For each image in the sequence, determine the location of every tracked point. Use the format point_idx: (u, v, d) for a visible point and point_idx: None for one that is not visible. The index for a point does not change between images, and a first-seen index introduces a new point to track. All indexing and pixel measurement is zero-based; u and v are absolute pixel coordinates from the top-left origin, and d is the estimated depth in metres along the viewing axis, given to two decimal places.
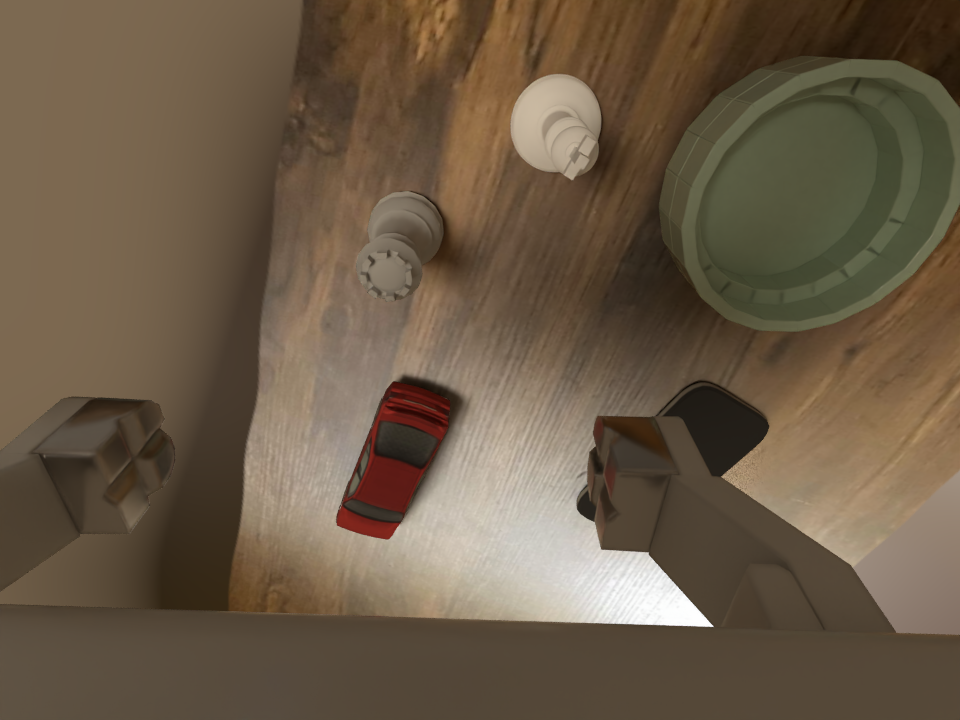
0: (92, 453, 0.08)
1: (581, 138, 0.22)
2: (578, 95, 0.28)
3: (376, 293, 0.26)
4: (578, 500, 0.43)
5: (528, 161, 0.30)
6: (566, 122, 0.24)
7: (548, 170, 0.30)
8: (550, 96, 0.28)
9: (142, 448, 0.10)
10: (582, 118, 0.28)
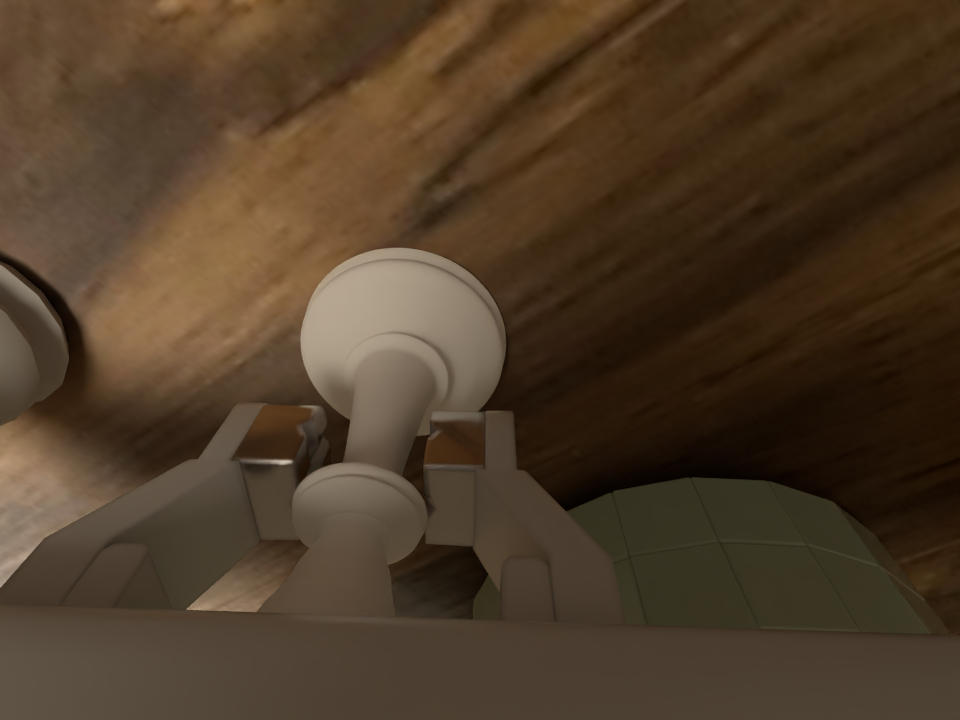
0: (290, 459, 0.08)
1: None
2: (475, 339, 0.12)
3: None
4: None
5: (311, 378, 0.13)
6: (377, 488, 0.08)
7: (342, 414, 0.14)
8: (418, 307, 0.12)
9: (313, 453, 0.10)
10: (456, 382, 0.13)
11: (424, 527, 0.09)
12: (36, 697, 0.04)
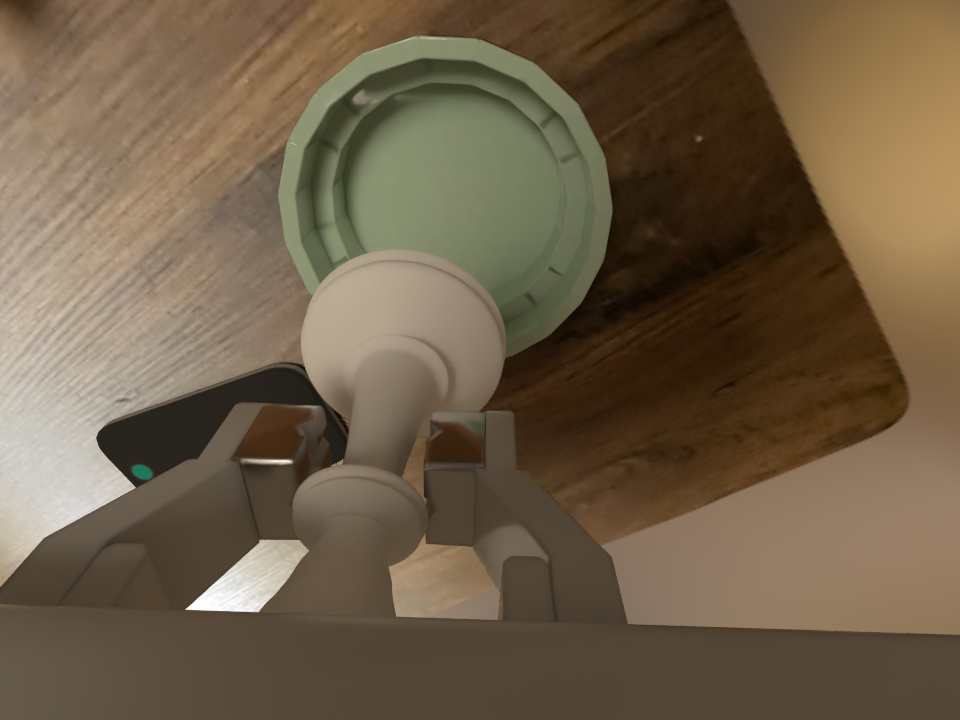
0: (290, 459, 0.08)
1: None
2: (475, 341, 0.12)
3: None
4: None
5: (311, 379, 0.13)
6: (377, 489, 0.08)
7: (342, 415, 0.14)
8: (419, 309, 0.12)
9: (313, 453, 0.10)
10: (456, 383, 0.13)
11: (424, 529, 0.09)
12: (36, 697, 0.04)
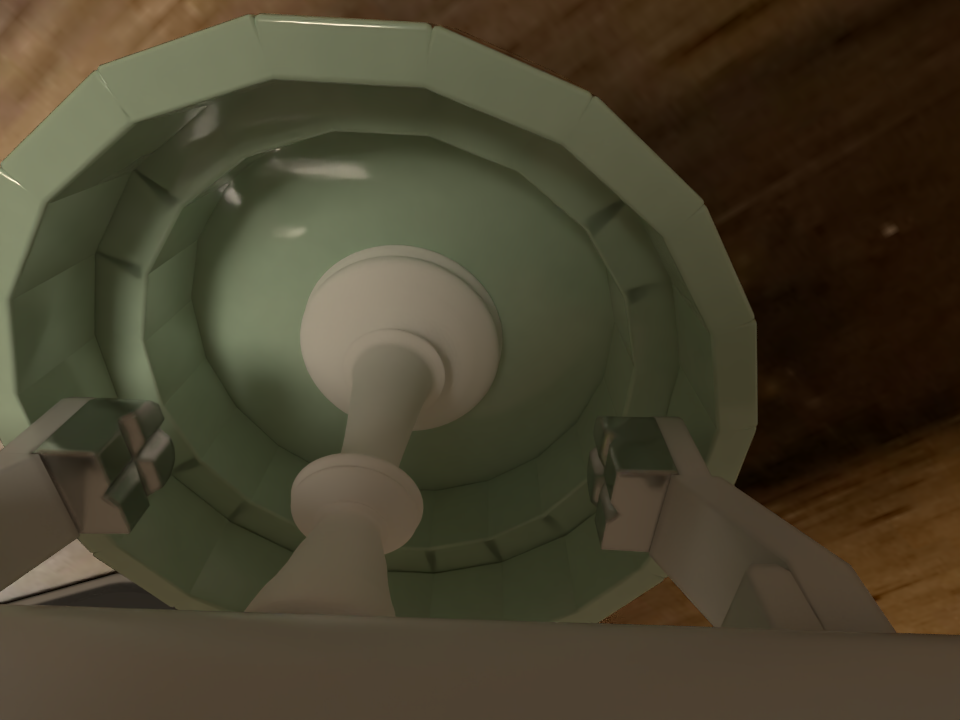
0: (92, 452, 0.08)
1: None
2: (471, 335, 0.12)
3: None
4: None
5: (310, 373, 0.13)
6: (374, 478, 0.08)
7: (341, 409, 0.14)
8: (416, 303, 0.12)
9: (142, 447, 0.10)
10: (453, 377, 0.13)
11: (420, 517, 0.09)
12: (36, 697, 0.04)
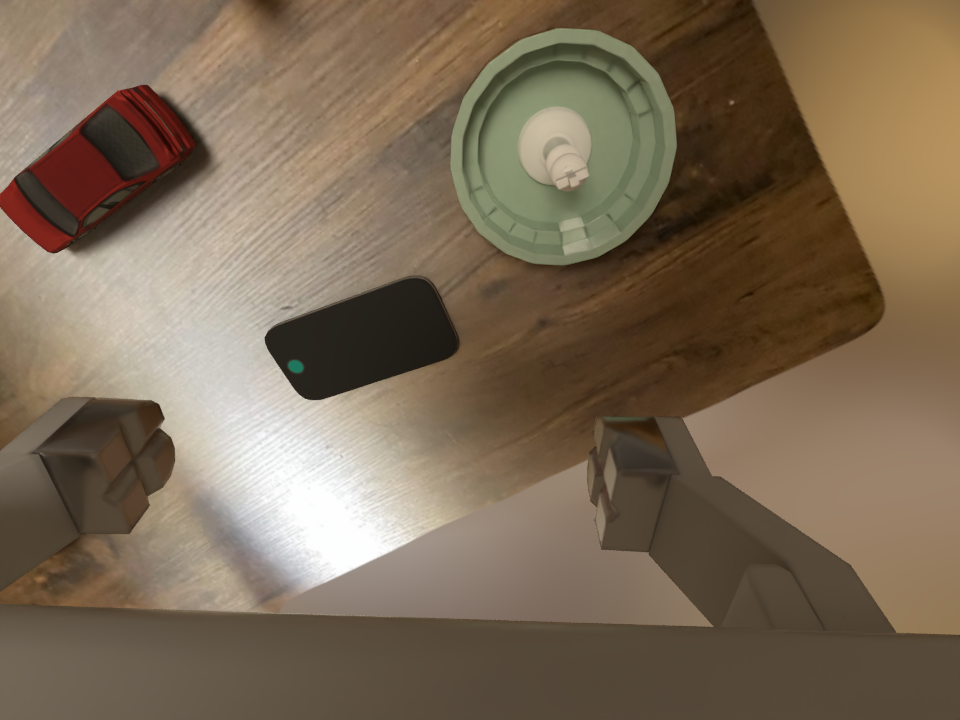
0: (92, 453, 0.08)
1: (579, 167, 0.29)
2: (583, 138, 0.35)
3: None
4: (270, 329, 0.44)
5: (521, 157, 0.36)
6: (572, 150, 0.31)
7: (529, 174, 0.36)
8: (565, 125, 0.35)
9: (142, 447, 0.10)
10: None
11: None
12: (36, 697, 0.04)
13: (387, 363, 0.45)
